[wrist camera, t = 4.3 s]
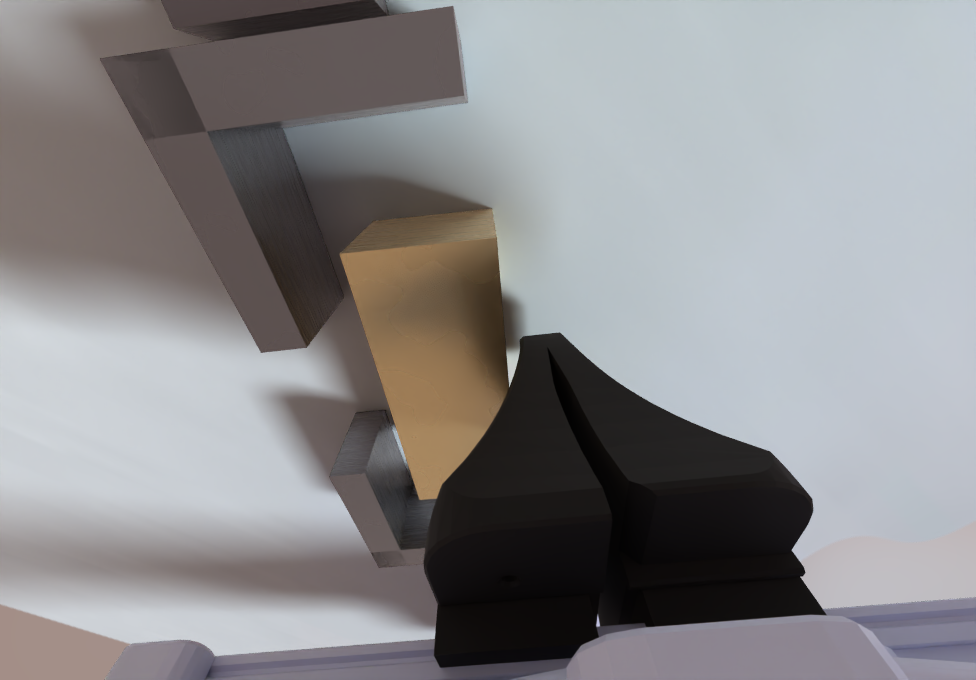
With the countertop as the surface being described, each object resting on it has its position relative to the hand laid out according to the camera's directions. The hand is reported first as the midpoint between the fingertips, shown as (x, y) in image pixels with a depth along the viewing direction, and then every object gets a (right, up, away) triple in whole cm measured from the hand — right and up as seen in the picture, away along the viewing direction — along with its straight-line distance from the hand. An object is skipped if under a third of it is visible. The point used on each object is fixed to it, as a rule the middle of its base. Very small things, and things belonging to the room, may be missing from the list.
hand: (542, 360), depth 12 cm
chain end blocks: (-4, 0, +1) cm, 5 cm away
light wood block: (-3, +1, +1) cm, 3 cm away
